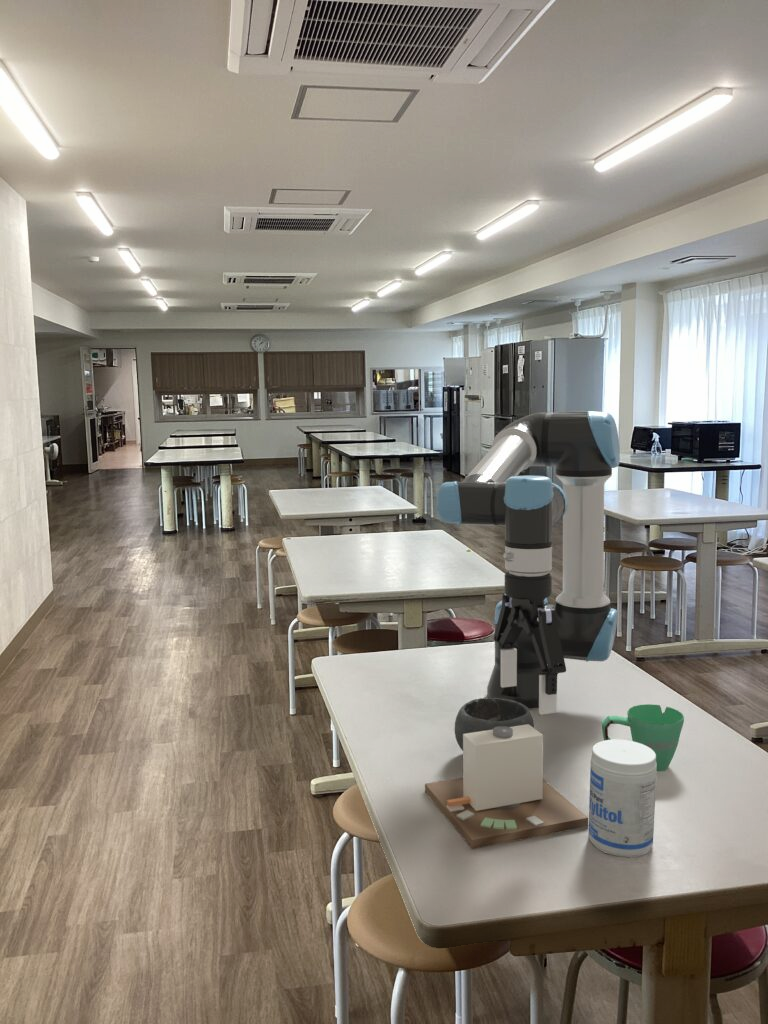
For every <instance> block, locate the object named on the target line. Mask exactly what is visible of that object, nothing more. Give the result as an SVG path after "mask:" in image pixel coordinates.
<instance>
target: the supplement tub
mask: <svg viewBox="0 0 768 1024" xmlns="http://www.w3.org/2000/svg"><path fill="white" fill-rule="evenodd" d="M656 767H657V763H656V754H655V752H654V751H653V750H652V749H651V748H649V747H647V746H645V745H643V744H640V743H637V742H633V741H632V740H629V739H617V738H616V739H613V738H612V739H611V740H605V741H604V740H602V741H599V742H596V743H595V744H594V745H593V746H592V750H591V757H590V768H589V773H590V775H589V797H588V798H589V799H588V800H589V801H588V802H589V805H588V833H587V834H588V839H589V840H590V842H591V844H592V845H593V846H594V847H595V848H597V849H598V850H600V851H602V852H603V853H606V854H608V855H612V856H617V857H621V858H622V857H623V858H637V857H640V856H643V855H645V854H647V853H649V852H650V850H651V849H653V845H654V834H655V833H654V832H655V831H654V830H655V829H654V828H655V809H656V791H657V790H656V789H657V772H656V769H657V768H656Z"/></svg>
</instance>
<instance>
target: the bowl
mask: <svg viewBox="0 0 768 1024" xmlns="http://www.w3.org/2000/svg"><path fill="white" fill-rule="evenodd" d="M526 724H529V725H530V726H532V727H533V728H534V729H535V720H534V716H533V715H532V712H531V709H528V708H527V707H526V706H525V705H523V704H521V703H519V702H516V701H513V700H508V699H499V698H487V697H483V698H476V699H471V700H470V701H468V702H466V703H464V704H463V705H462V706H461V707H460V709H459V711H458V712H457V715H456V717H455V722H454V736H455V740H456V743H457V744H458V746H459V748H460V750H461V751H462V752H463V734H466V733H473V732H480V731H486V730H493V728H495V727H498V726H506V727H513V726H520V725H526Z"/></svg>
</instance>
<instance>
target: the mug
mask: <svg viewBox="0 0 768 1024" xmlns="http://www.w3.org/2000/svg"><path fill="white" fill-rule="evenodd" d="M626 715H627V717H625V716H620V715H607V716H606V717H605V718H604V719H603V721H602V722H601V732H602V736H603V737H602V738H603V741H605V740H612V739H611V738H610V737H609V727H610V726H611V725H616V724H617V725H622V726H626V727H629V728H630V735H631V741H633V742H637V743H640V744H643V745H645V746H647V747H649V748H651V749H652V750H653V751H654V752H655V754H656V763H657V767H656V768H657V769H656V773H657V772H658V773H659V772H665V771H667V770H668V769H669V767H670V764H671V762H672V760H673V758H674V756H675V753H676V750H677V748H678V745H679V742H680V736H681V733H682V730H683V726H684V722H685V717H684V713H682V712H681V711H679V710H678V709H676V708H674V707H670V706H669V707H668V706H666V707H665V709H664V712H662V707H661V705H659V704H652V703H651V704H650V703H647V704H638V705H634V706H631V707H629V708H628V710H627V714H626Z"/></svg>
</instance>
